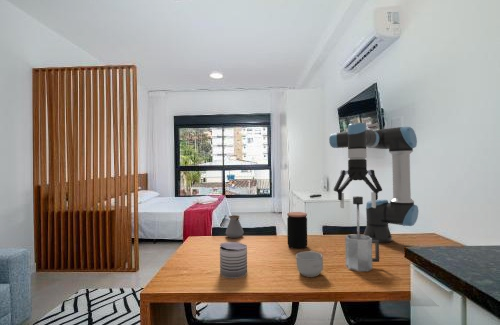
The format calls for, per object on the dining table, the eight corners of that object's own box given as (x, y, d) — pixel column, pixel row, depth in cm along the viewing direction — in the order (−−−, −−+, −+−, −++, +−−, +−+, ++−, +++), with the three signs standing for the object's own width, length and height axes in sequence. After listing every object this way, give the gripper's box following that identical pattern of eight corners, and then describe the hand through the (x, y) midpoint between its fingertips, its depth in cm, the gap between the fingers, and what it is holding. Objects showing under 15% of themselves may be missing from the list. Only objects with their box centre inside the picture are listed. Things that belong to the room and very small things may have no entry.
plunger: (364, 240, 125) (363, 195, 126) (371, 245, 118) (370, 197, 118) (346, 240, 126) (345, 195, 126) (352, 245, 118) (351, 198, 118)
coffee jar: (306, 243, 158) (305, 211, 158) (308, 249, 147) (307, 215, 147) (287, 243, 159) (286, 211, 159) (287, 249, 148) (287, 215, 148)
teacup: (318, 281, 107) (317, 260, 107) (291, 276, 113) (291, 256, 113) (328, 269, 119) (328, 251, 119) (304, 265, 125) (304, 247, 125)
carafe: (373, 262, 127) (373, 234, 127) (384, 271, 116) (383, 240, 116) (343, 262, 127) (342, 234, 127) (350, 271, 116) (350, 240, 117)
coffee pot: (224, 235, 180) (224, 211, 180) (242, 233, 182) (241, 210, 182) (228, 244, 159) (228, 217, 159) (248, 242, 161) (248, 216, 162)
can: (220, 268, 122) (220, 241, 122) (246, 267, 123) (246, 240, 123) (219, 279, 111) (219, 248, 111) (248, 278, 111) (247, 247, 112)
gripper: (382, 158, 125) (382, 206, 125) (326, 159, 126) (326, 206, 126) (390, 158, 118) (391, 208, 118) (330, 159, 118) (331, 209, 118)
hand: (357, 207), depth 122 cm, fingers open, 13 cm apart
